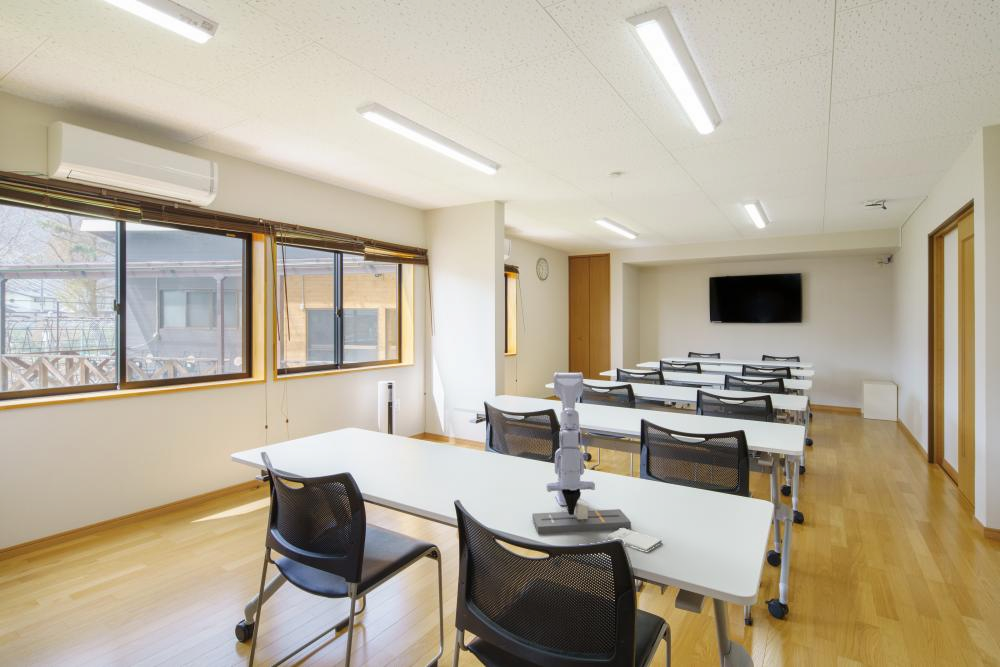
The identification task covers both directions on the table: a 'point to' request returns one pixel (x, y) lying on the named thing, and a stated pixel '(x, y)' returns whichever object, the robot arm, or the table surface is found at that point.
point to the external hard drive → (635, 539)
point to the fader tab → (581, 510)
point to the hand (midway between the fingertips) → (570, 513)
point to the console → (580, 521)
